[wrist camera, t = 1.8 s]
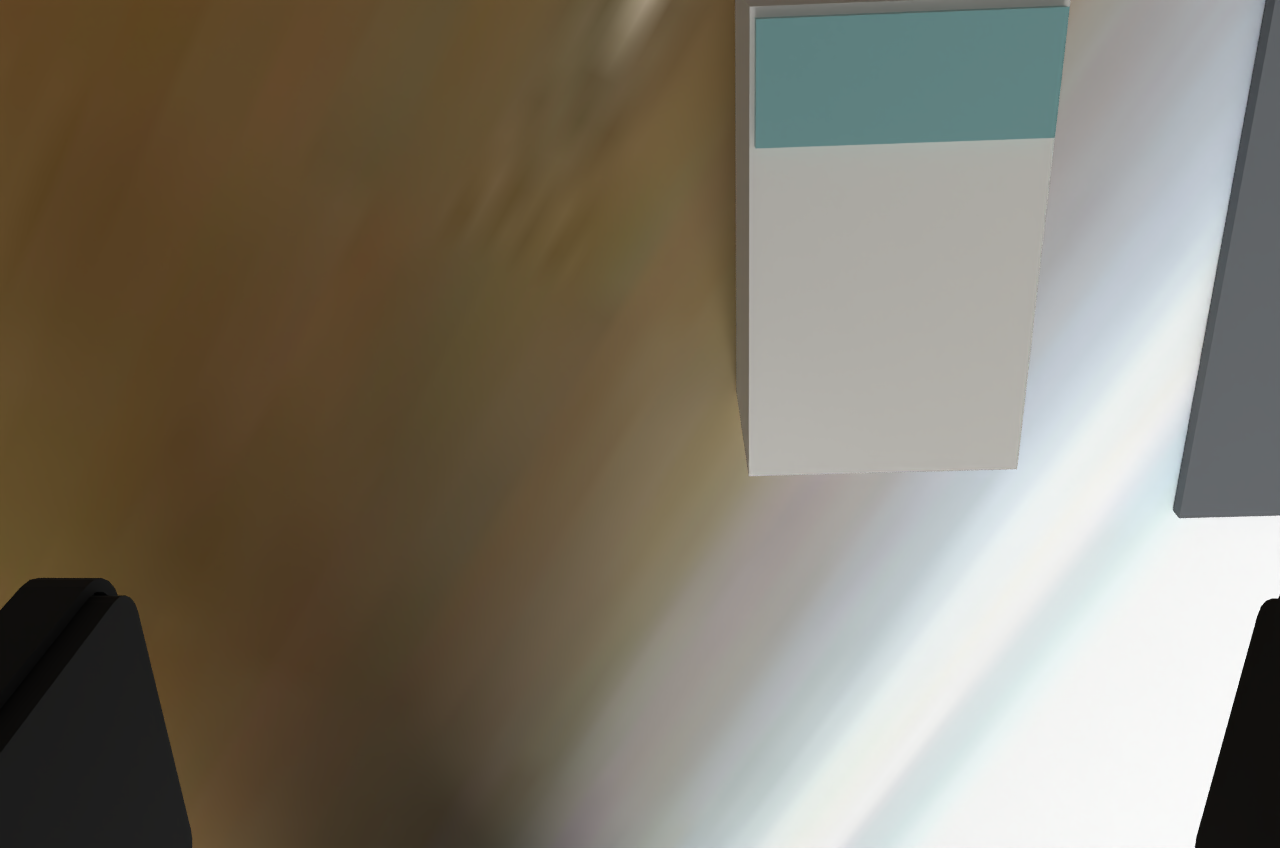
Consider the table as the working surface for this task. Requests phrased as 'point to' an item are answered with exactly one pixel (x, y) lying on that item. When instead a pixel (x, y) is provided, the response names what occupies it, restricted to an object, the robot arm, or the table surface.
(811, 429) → the card deck
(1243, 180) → the mat
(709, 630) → the table surface
